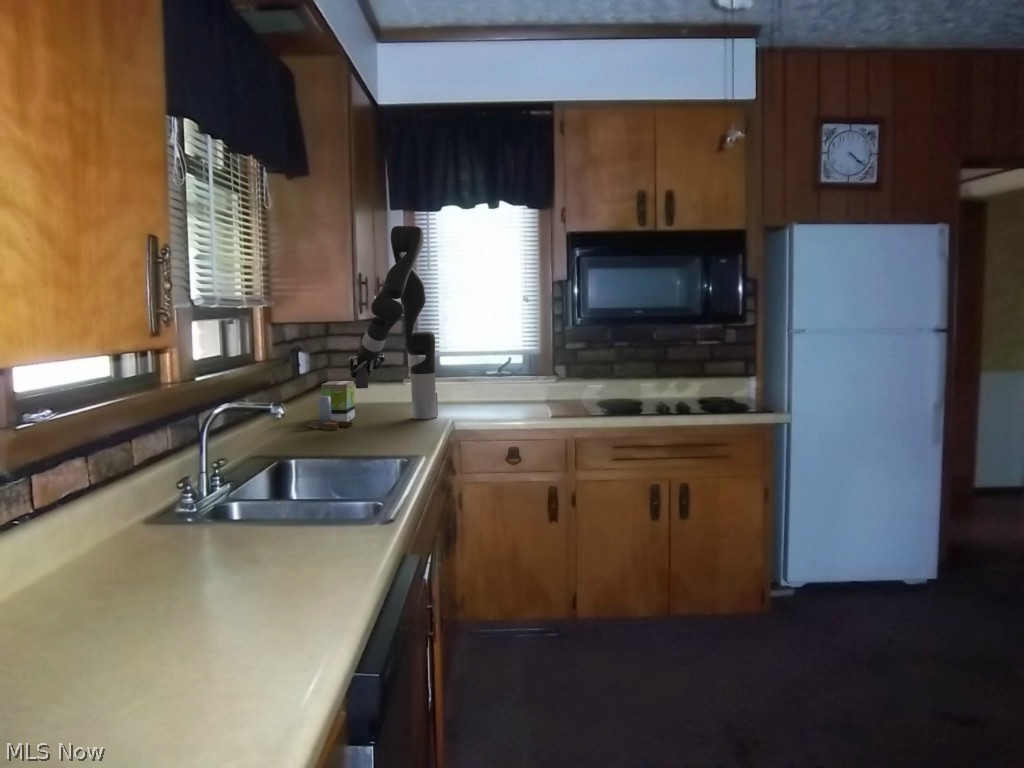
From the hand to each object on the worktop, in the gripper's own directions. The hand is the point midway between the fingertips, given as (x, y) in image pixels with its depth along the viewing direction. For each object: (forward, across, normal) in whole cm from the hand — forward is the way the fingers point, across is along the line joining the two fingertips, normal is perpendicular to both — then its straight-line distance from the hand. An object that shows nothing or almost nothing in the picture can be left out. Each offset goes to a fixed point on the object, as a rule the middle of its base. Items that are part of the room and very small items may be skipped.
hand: (358, 376), depth 291 cm
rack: (+16, +9, +10) cm, 21 cm away
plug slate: (+18, +10, +8) cm, 22 cm away
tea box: (+27, -1, -2) cm, 27 cm away
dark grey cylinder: (+2, 0, +4) cm, 5 cm away
